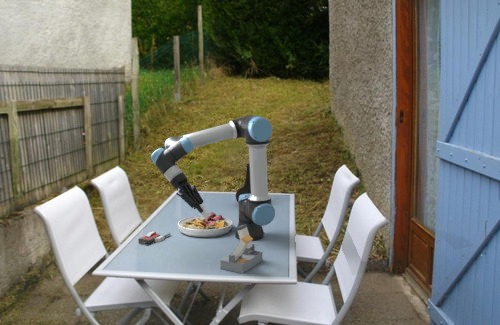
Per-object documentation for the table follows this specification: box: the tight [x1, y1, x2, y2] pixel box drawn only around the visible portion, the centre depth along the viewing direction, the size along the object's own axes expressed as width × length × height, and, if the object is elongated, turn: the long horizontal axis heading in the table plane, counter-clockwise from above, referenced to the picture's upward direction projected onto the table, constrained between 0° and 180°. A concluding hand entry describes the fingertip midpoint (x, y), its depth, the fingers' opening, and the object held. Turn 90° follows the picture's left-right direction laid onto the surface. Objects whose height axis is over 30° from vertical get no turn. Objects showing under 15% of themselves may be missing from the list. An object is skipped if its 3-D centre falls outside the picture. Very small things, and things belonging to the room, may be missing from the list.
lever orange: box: [231, 235, 254, 259], centre depth 231 cm, size 3×5×12 cm
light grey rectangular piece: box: [235, 224, 253, 251], centre depth 243 cm, size 3×5×12 cm, turn 153°
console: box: [220, 243, 263, 274], centre depth 238 cm, size 11×19×7 cm, turn 152°
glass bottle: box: [235, 163, 251, 204], centre depth 351 cm, size 18×18×28 cm
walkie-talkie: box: [138, 231, 171, 246], centre depth 274 cm, size 9×4×20 cm
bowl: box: [177, 211, 233, 238], centre depth 292 cm, size 30×30×8 cm
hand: (208, 217), depth 238 cm, fingers closed
